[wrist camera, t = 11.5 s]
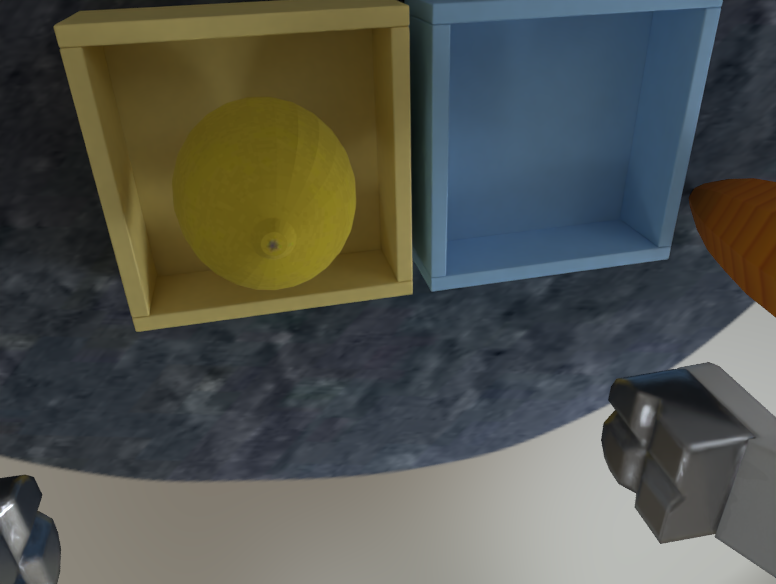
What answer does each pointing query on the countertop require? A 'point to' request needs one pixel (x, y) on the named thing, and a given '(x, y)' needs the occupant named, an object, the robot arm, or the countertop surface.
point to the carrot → (741, 232)
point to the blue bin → (550, 132)
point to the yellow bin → (226, 84)
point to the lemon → (264, 193)
